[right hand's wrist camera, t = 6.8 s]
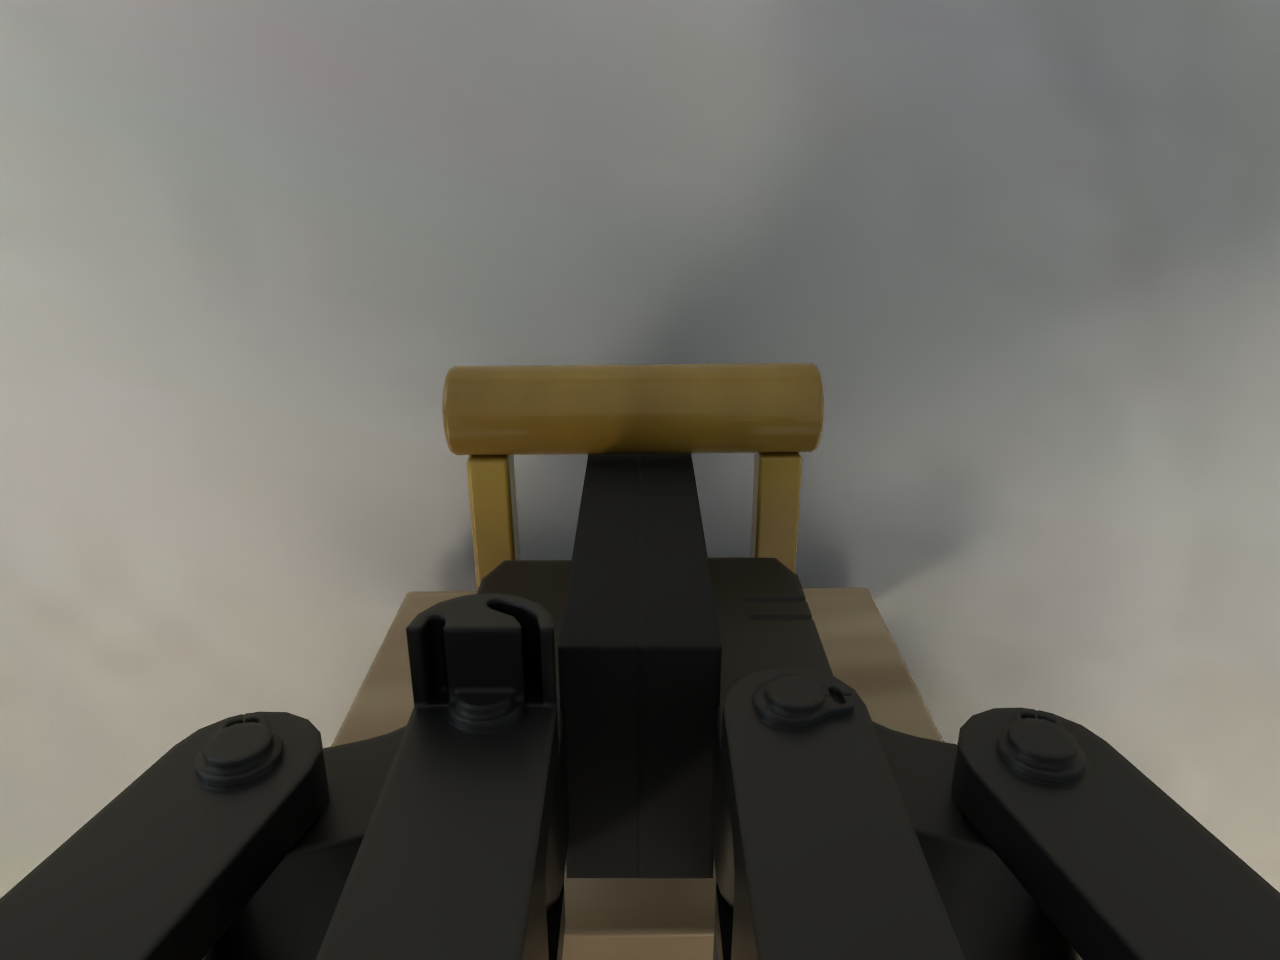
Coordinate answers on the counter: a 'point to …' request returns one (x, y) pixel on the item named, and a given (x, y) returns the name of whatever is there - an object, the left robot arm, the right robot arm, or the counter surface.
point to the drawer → (844, 617)
